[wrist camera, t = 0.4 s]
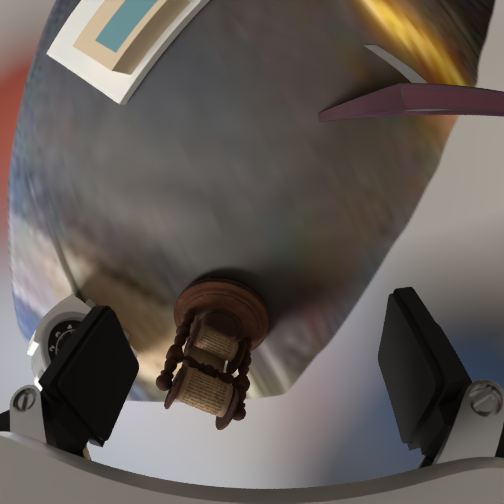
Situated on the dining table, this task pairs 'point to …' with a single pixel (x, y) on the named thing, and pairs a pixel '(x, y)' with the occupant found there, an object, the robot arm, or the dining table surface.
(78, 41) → the carton
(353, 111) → the picture frame
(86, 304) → the alarm clock
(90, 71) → the display podium
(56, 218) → the dining table surface
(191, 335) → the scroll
